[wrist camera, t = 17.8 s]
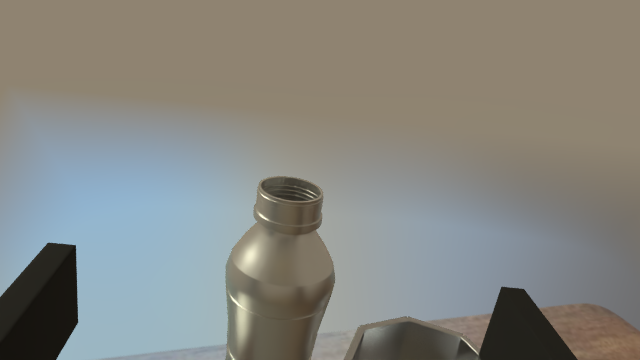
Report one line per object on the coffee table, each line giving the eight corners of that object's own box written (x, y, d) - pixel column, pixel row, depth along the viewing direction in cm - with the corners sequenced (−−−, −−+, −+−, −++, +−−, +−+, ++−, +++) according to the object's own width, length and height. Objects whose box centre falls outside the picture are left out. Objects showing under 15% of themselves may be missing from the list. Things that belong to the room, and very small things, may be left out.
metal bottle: (245, 398, 39) (274, 158, 32) (319, 443, 36) (369, 191, 29) (186, 456, 34) (204, 184, 27) (267, 515, 31) (313, 228, 24)
